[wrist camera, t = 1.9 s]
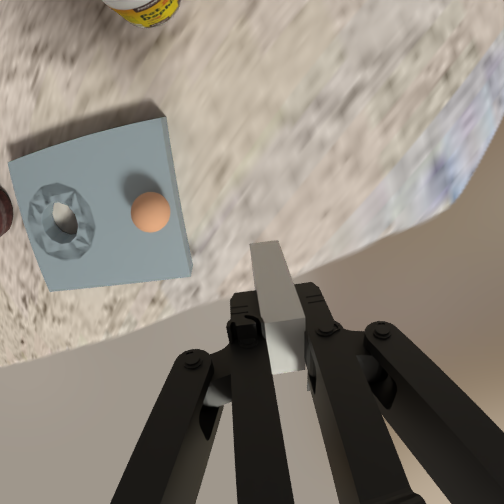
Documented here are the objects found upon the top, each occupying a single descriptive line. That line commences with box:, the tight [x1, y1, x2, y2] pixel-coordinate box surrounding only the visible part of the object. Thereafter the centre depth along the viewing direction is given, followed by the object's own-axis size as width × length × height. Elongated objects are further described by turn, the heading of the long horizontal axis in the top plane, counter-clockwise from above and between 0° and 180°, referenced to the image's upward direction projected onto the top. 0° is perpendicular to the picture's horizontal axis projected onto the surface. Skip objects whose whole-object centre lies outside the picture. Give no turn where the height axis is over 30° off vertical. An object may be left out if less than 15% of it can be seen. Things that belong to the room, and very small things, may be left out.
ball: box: [131, 192, 170, 233], centre depth 27 cm, size 4×4×4 cm
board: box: [8, 117, 193, 292], centre depth 29 cm, size 16×18×2 cm
